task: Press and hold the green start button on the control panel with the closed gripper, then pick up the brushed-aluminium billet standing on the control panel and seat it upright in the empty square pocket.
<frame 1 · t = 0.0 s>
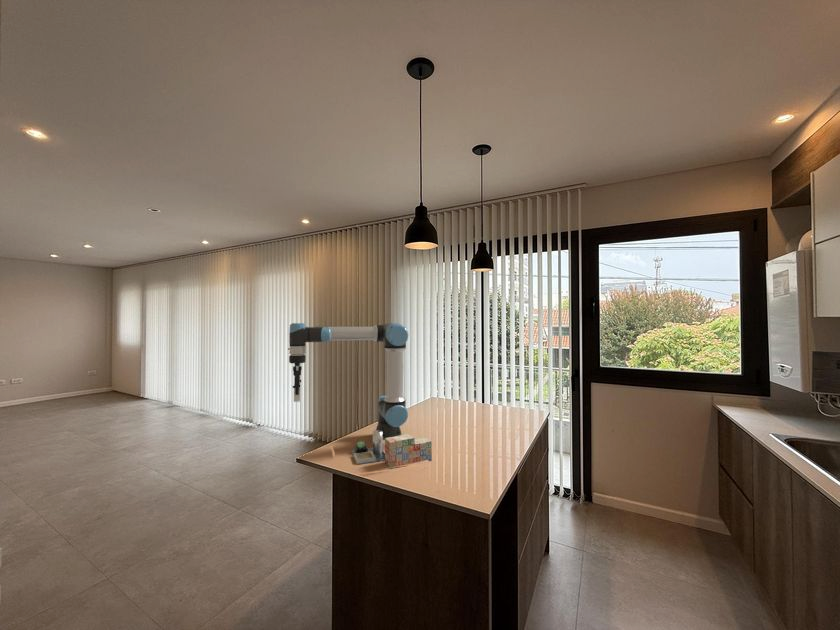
hand: (296, 398, 164), 28 cm above the table, fingers open, 13 cm apart
control panel: (369, 457, 163), on the table
stack of blocks: (408, 463, 157), on the table
billet: (377, 451, 167), point 1 cm above the table, touching control panel
start button: (361, 445, 167), point 4 cm above the table, slide at 0.0 cm
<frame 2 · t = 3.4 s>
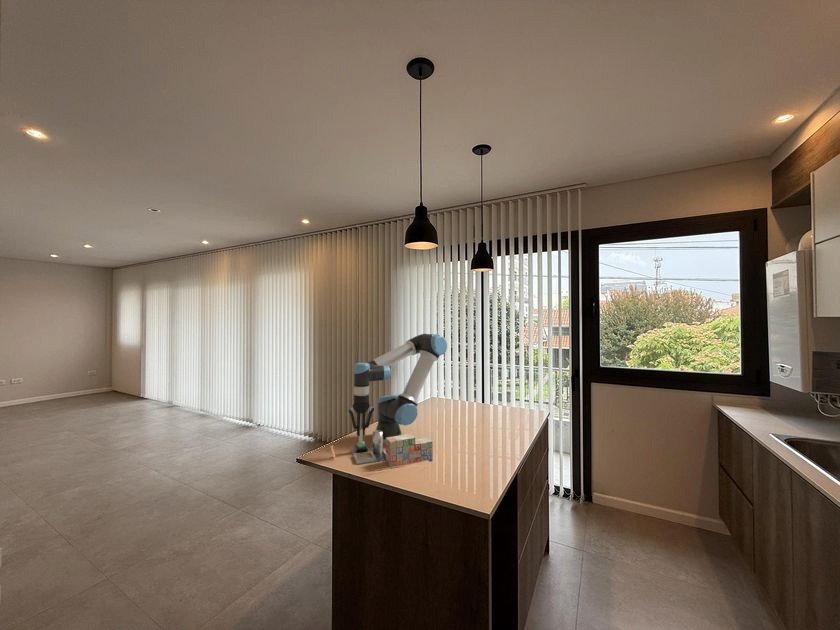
hand: (360, 442, 167), 6 cm above the table, fingers closed
start button: (361, 445, 167), point 4 cm above the table, slide at 0.0 cm, touching gripper
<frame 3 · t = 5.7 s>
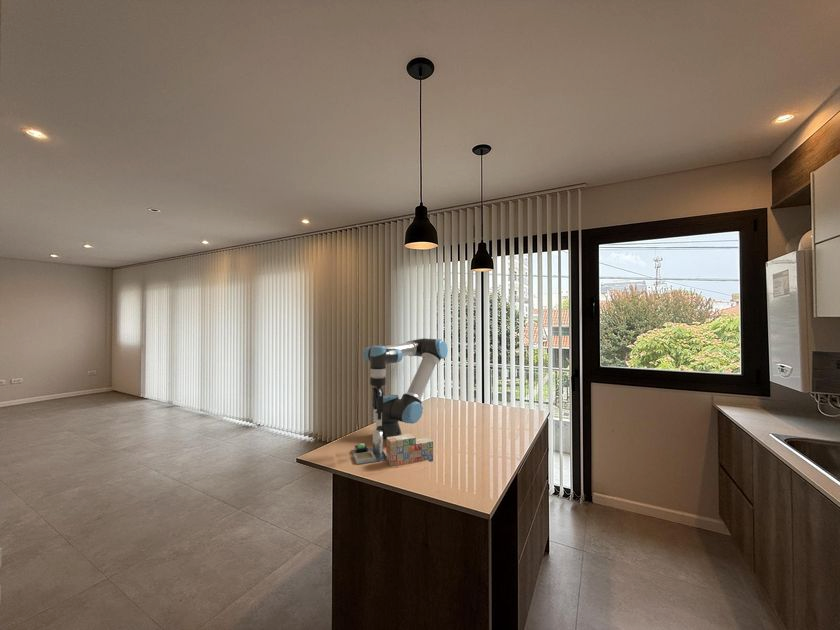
hand: (377, 424, 167), 15 cm above the table, fingers open, 5 cm apart
start button: (361, 447, 167), point 3 cm above the table, slide at -0.9 cm
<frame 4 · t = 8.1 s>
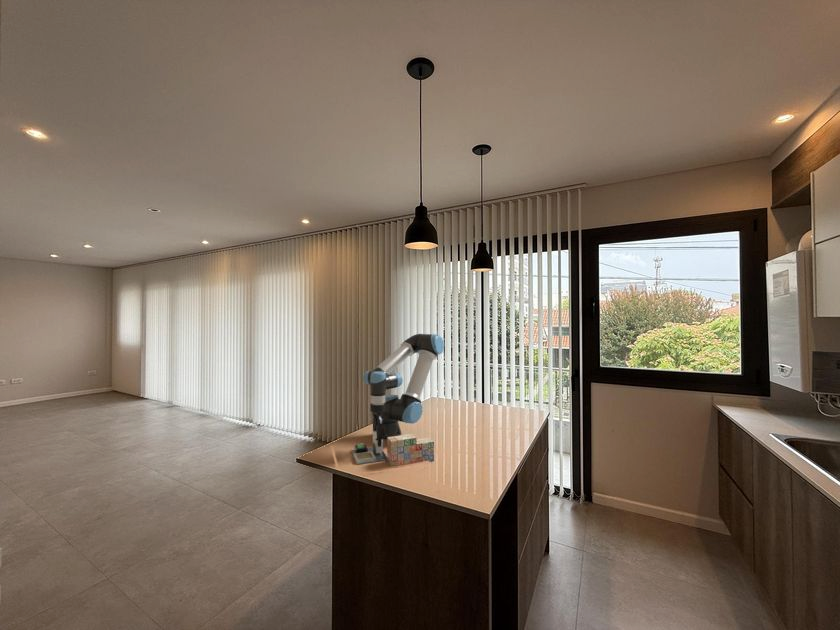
hand: (377, 450, 167), 2 cm above the table, fingers closed on billet, 5 cm apart
billet: (377, 451, 167), point 1 cm above the table, touching gripper, control panel
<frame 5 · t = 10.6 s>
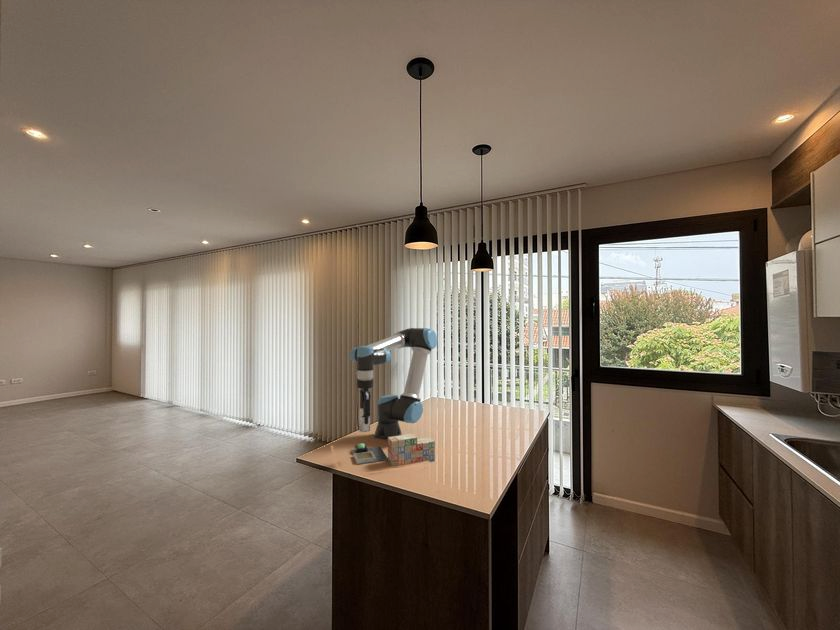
hand: (364, 428, 159), 15 cm above the table, fingers closed on billet, 5 cm apart
billet: (364, 430, 159), point 14 cm above the table, touching gripper
when the fingers open (3 cm above the table, at t = 12.9 s): billet drops 1 cm, resting on control panel.
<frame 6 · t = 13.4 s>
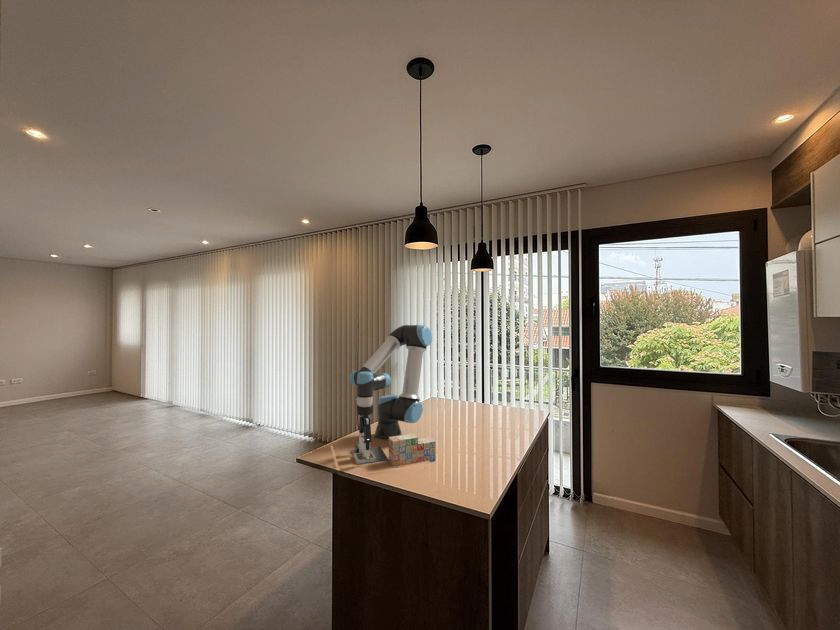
hand: (364, 451, 158), 5 cm above the table, fingers open, 12 cm apart
billet: (364, 458, 158), point 1 cm above the table, touching control panel
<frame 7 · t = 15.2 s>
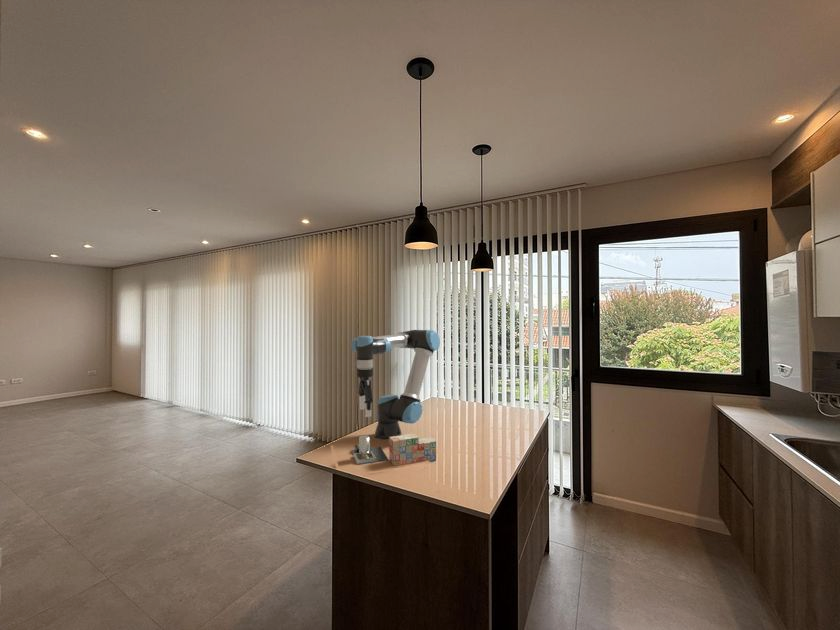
hand: (365, 412, 161), 22 cm above the table, fingers open, 13 cm apart
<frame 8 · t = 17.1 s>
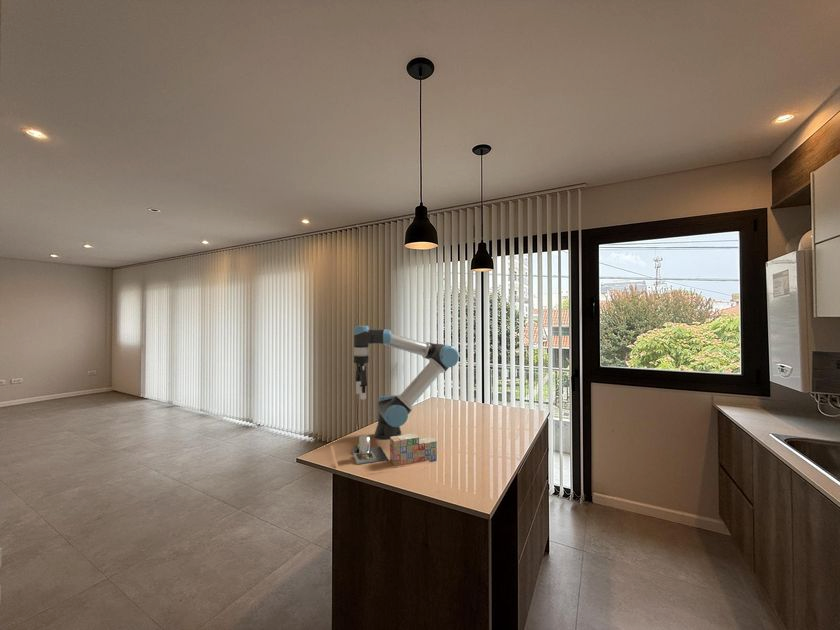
hand: (360, 396, 175), 27 cm above the table, fingers open, 13 cm apart
at the end: billet 0.1 cm from the target spot on the control panel, point 1.1 cm above the control panel's base; billet tilted 1°; the gripper is holding nothing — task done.
